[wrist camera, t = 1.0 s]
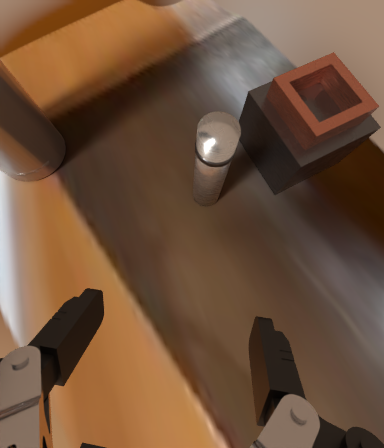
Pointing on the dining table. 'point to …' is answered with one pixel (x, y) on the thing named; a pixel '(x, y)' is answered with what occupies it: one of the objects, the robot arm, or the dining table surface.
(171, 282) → the dining table surface
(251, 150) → the block
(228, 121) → the steel tube
